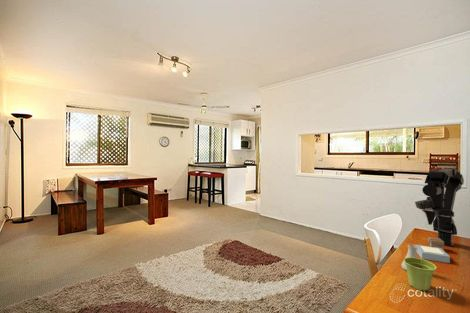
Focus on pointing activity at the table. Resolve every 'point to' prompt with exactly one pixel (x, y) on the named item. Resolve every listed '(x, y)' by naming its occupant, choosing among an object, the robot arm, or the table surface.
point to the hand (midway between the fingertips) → (434, 226)
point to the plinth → (433, 254)
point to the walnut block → (435, 243)
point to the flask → (410, 254)
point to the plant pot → (419, 273)
